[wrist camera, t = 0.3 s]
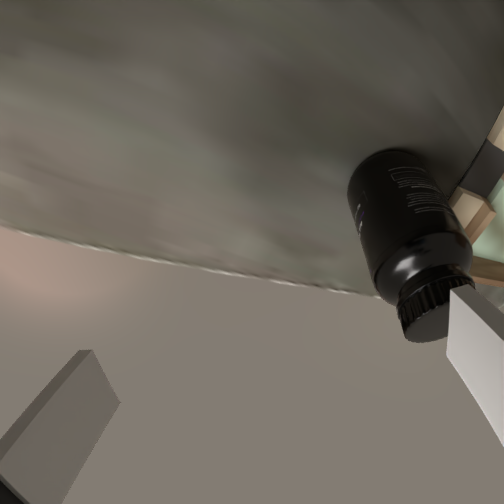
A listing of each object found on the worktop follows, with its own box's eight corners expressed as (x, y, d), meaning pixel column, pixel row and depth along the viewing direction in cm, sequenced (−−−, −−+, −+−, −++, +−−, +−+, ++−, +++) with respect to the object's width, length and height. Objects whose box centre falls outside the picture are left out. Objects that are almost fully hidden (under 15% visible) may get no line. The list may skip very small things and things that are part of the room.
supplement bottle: (326, 193, 23) (360, 339, 15) (389, 130, 19) (472, 266, 11) (383, 230, 26) (424, 358, 18) (440, 180, 22) (510, 305, 14)
